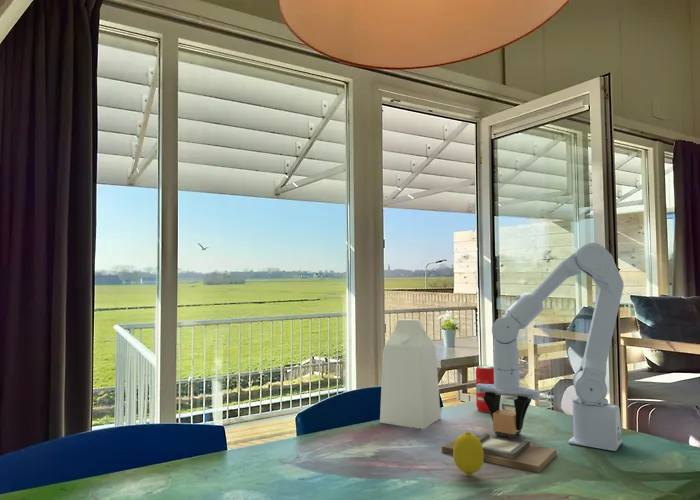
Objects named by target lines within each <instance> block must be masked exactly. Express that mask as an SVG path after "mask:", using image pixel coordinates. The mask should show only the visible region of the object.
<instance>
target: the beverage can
mask: <svg viewBox="0 0 700 500" xmlns="http://www.w3.org/2000/svg"><path fill="white" fill-rule="evenodd" d="M479 383H480V384H494V365H477V366H476V368H475V386H476V385H477V384H479ZM484 396H485V393H476V392H475V397H476V398H475V399H476V400H475V403H476V405H475V406H476V408H477V410H478V412H482V413H490V411H489V408H488V406H487V404H486V403H485V401H484V398H483V397H484Z"/></svg>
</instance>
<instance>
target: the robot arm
mask: <svg viewBox="0 0 700 500" xmlns="http://www.w3.org/2000/svg"><path fill="white" fill-rule="evenodd" d="M582 272H583V273H584V274H585V275H588V276H589V277H590V279H591V280H592V281H593V283H594V284H595V285H596V286H597V288H598V291H597V295H596V300H595V305H594V309H593V313H592V318H591V322H590V327H589V330H588V331H589V332H588V336H587V340H586V345H585V350H584V354H583V356H582V360H581V362H580V366H579V368H578V370H577V371H576V372H575V373H574V375H573V378H572V384H573V388H574V389H575V395H574V396H573V397H572V402H571V403H572V425H573V436H572V437H570V438H569V440H568V441H567V443H568V444H571V445H577V446H583V447H589V448H595V449H602V450H606V451H611V452H612V451H613V452H616V451H617V450H618V448H619V447H620V445H621V444H622V443H623V440H622V425H621V423H622V422H621V419H622V418H621V409H620V406H619V405H617V404H612V403H609V401H608V399H607V398H606V397H607V395H608V387H607V384H606V376H607V362H608V357H609V354H610V349H611V344H612V340H613V337H614V336H613V335H614V331H615V326H616V322H617V317H618V313H619V308H620V303H621V301H622V300H621V299H622V295H623V291H624V288H625V287H624V285H625V284H624V280H623V278H622V276H621V273H620V271H619V269H618V267H617V265H616V263H615V260H614V256H613V255H612V254H611V252H610V251H608V250H607V249H606V248H605V247H604V245H601V244H600V243H597V242H588V243H585V244H584V245H582V246H581V247H579V248H578V249H577V250H576V251H575V252H574V253H572V254H570V255H569V256H568V257H566V258H565V259H564V260H562V261H561V262H560V263H559V264H558V265H557V266H556V267H555V268H554V269H553V270H552V271H551V272H550V273H549V274H548V275H547V277H546V278H545V279H544V280H543V281H542V282H541V283H540V284H539V285H538V286H537V287H536V288H535V289H534V290H533V292H523V293H522V294H521V295H520V294H517V296H516V297H514V300H515V301H514V302H513V303H512V305H510V306H509V307H508V308H507V309H506V310H503V311H501V312H500V315H501V316H502V317H499V318H497V319H496V320H495V321H494V323H493V324H492V327H491V334H492V336H493V342H492V343H493V350H492V354H493V358H492V359H493V367H494V384H480V383H479V384H477V385H476V384H475V394H476V393H485V396H484V397H483V398H484V401H485V403H486V404H487V406H488V408H489V411H490V412H489V413H490V417H491V419H492V421H493V413H494V412H496V411H498V410H500V403H501V396H503V397H504V396H505V397H506V396H507V397H513V398H515V399H513V404H514V405H515V408H514V410H515V411H516V429H517V430H521V431H522V429H523V427H524V426H523V425H524V420H525V417H526V413H527V410H528V409H529V406H530V404H531V402H532V400H533V401H538V400H540V398H541V397H540V390H538V389H532V388H528V387H522V386H520V361H519V355H520V354H519V348H518V334H520V333H519V332H520V330H524V329H526V327H528V326H529V324H530V323H531V322H532V321H534V319H536V318H537V316H538V315H540V314H541V313H542V311H544V306H543V305H544V303H543V302H544V301H545V300H546V299H547V298H548V297H549V296H550V295H552V293H553V292H554V291H555V290H557V289H558V288H559V286H561V285H562V284H564V282H565V281H566V280H567V279H569V278H571V277H574V276H577V275H580V274H582Z"/></svg>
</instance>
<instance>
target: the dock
mask: <svg viewBox="0 0 700 500" xmlns="http://www.w3.org/2000/svg"><path fill="white" fill-rule="evenodd" d="M465 433H466V432H464V433H463V434H465ZM472 434H473V435H475V436H476V437H477V438H478V439H479V440H480V442H481V444H482V448H483V452H484V460H483V462H486V463H491V464H496V465H500V466H504V467H505V466H506V467H510V468H515V469H518V470H519V469H520V470H523V471H529V472H532V473H533V472H534V473H540V472H541V471H542V470H544V468H545V467H546V466H547V465H548V464H549V463H550V462H552V461H553V459H554V458H555V457H556V456H557V449H556V448H552V447H546V446H540V445H536V444H531V441H530V440H523V441H522V442H520V441H519V442H518V441H514V440H509V439H507V440H506V439H502V438H496V437H491V436H490V433H483V434H481V435H479V434H475V433H472ZM458 437H459V436H458ZM458 437H456V438H454V439H452V440H451V441H449V442H447V443H445V444H444V445H442V446H441V453H444V454H449V455H453V448H454V444H455V441H456V439H457V438H458Z"/></svg>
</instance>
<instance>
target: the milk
mask: <svg viewBox="0 0 700 500" xmlns="http://www.w3.org/2000/svg"><path fill="white" fill-rule="evenodd" d="M436 348H437V347H436V346H435V343H434V342H433V340H432V339H431V337H430V335H428V333H427V332H426V331H425V327H424V325H423V323H422V320H421V319H407V318H406V319H405V318H404V319H402V318H401V319H397V321H396V324H395V327H394V330H393V331H392V333H391V334H390V336H389V338H388V340H387V341H386V343H385V344H384V347H383V348H382V349H383V350H382V364H381V387H380V388H381V389H380V412H379V413H380V414H379V423H381V424H387V425H394V426H400V427H407V428H412V427H415V428H414V429H419V428H421V429H422V430H425V429H426V428H428V427H430V426H431V425H432V424H434V423H436V422H437V421H439V420H440V419H441V405H440V404H441V403H440V388H439V377H438V375H439V373H438V362H437V361H438V360H437V359H438V358H437V349H436ZM438 419H439V420H438ZM435 421H436V422H435ZM430 424H431V425H430ZM427 426H428V427H427ZM421 429H420V430H421Z"/></svg>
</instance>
